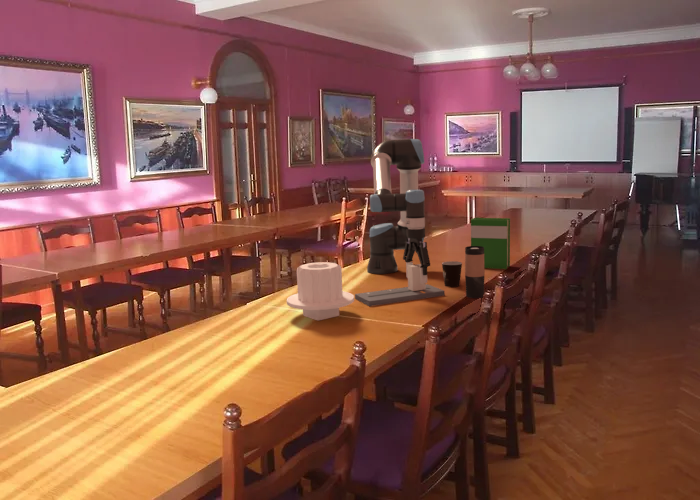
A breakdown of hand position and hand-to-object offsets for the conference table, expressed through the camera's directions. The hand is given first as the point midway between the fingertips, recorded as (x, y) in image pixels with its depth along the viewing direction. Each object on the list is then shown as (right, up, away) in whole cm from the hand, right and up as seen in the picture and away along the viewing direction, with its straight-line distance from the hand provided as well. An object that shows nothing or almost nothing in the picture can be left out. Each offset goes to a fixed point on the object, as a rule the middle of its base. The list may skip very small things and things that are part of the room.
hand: (416, 280), depth 257 cm
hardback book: (+42, +4, +52) cm, 67 cm away
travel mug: (+23, -6, -5) cm, 24 cm away
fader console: (-7, -7, -2) cm, 10 cm away
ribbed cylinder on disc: (-38, -12, -25) cm, 48 cm away
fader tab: (0, -4, +1) cm, 4 cm away
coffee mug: (+17, -3, +17) cm, 24 cm away
